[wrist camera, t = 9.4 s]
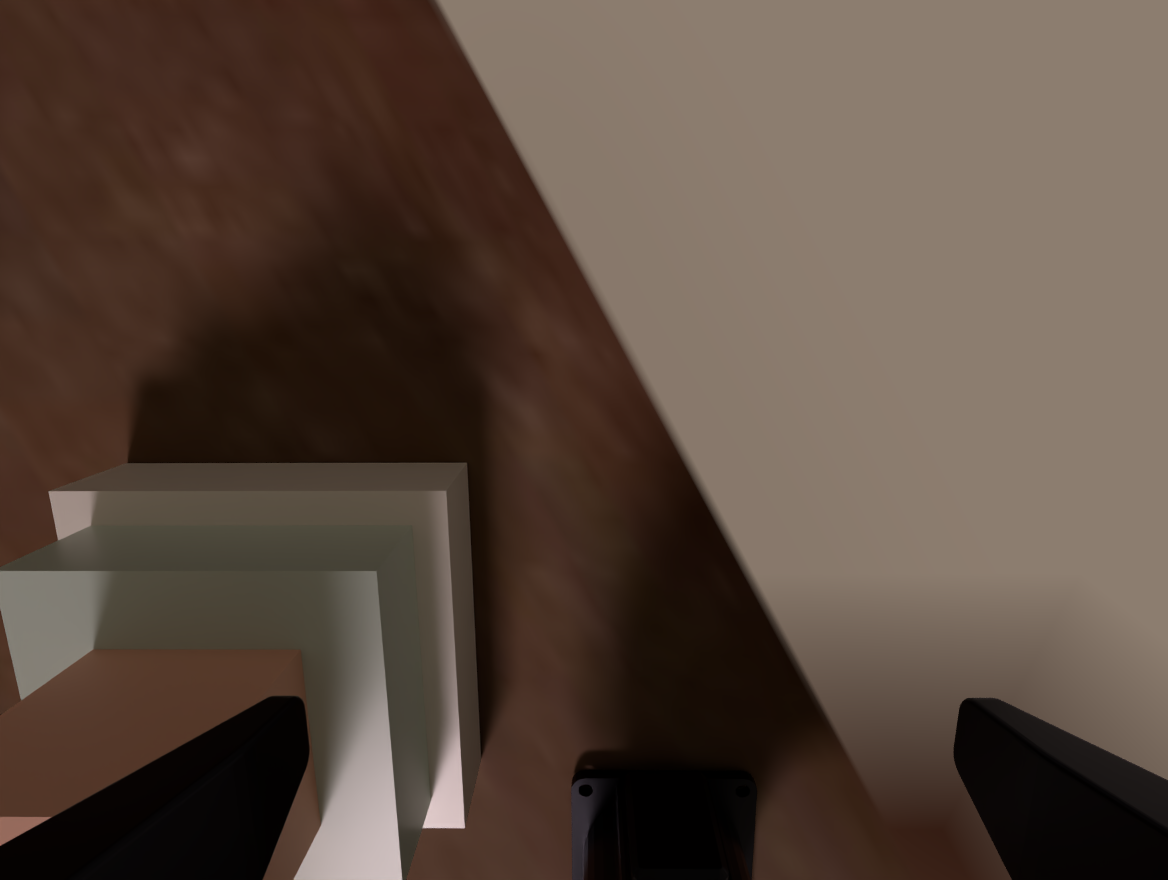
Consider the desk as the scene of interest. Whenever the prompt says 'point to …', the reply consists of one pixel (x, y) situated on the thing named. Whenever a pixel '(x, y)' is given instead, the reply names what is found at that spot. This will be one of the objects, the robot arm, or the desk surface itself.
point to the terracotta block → (140, 730)
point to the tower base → (337, 504)
